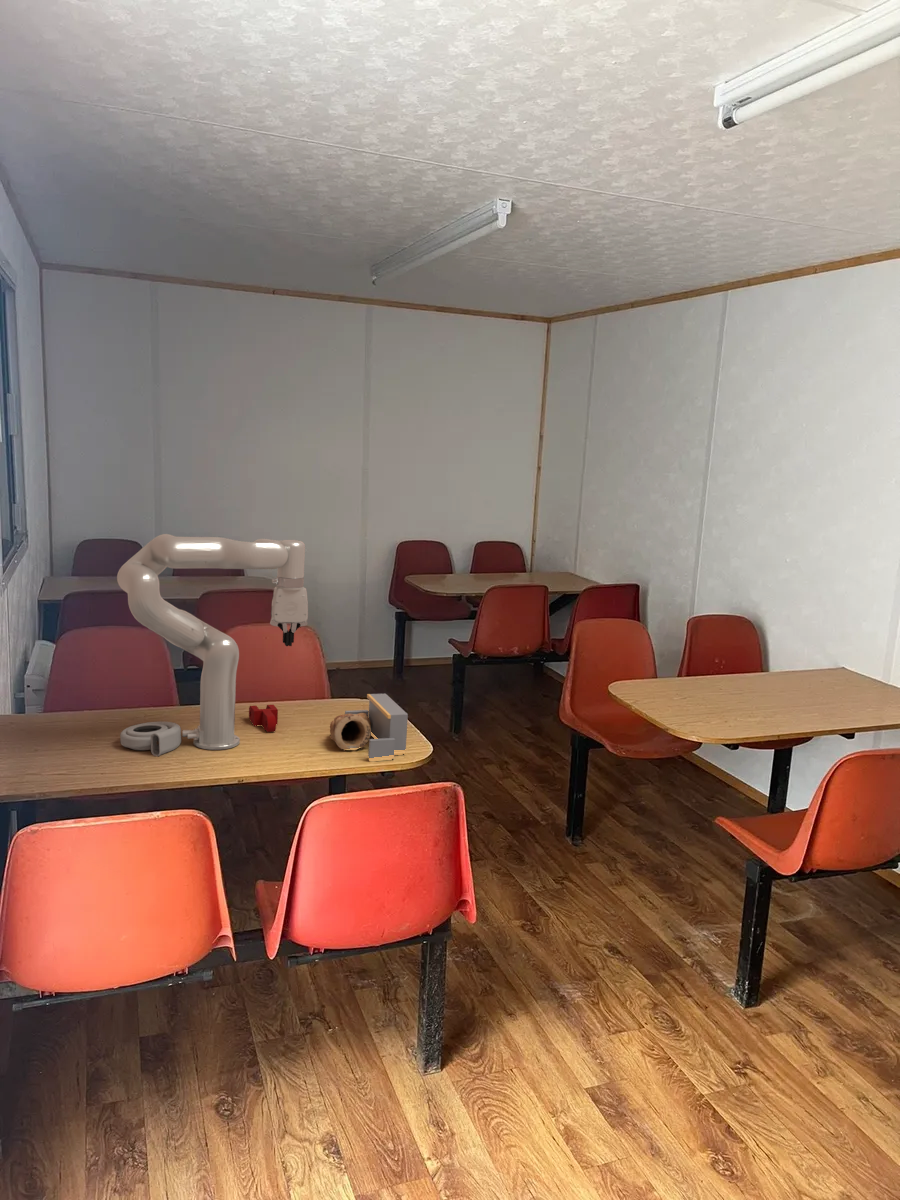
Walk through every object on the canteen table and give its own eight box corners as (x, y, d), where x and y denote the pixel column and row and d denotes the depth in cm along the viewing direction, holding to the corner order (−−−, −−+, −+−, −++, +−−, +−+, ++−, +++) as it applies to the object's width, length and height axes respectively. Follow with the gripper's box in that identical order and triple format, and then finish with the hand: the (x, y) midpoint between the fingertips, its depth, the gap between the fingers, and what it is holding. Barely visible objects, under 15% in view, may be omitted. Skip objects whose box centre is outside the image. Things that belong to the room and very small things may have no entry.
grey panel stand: (369, 761, 239) (371, 719, 237) (344, 729, 266) (345, 691, 264) (409, 759, 243) (411, 718, 241) (380, 727, 270) (382, 690, 268)
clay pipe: (314, 757, 251) (349, 755, 241) (308, 721, 251) (342, 717, 241) (361, 742, 265) (396, 739, 255) (355, 708, 265) (389, 703, 256)
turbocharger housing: (149, 737, 251) (109, 751, 238) (148, 715, 251) (108, 727, 237) (195, 744, 244) (156, 759, 231) (194, 721, 243) (155, 735, 230)
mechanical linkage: (248, 719, 270) (249, 703, 270) (271, 717, 273) (271, 702, 273) (259, 735, 256) (260, 718, 255) (283, 733, 259) (284, 717, 258)
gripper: (266, 584, 244) (263, 648, 247) (318, 585, 250) (316, 647, 252) (262, 580, 251) (260, 642, 254) (313, 581, 257) (311, 642, 259)
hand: (288, 645), depth 253 cm, fingers closed
